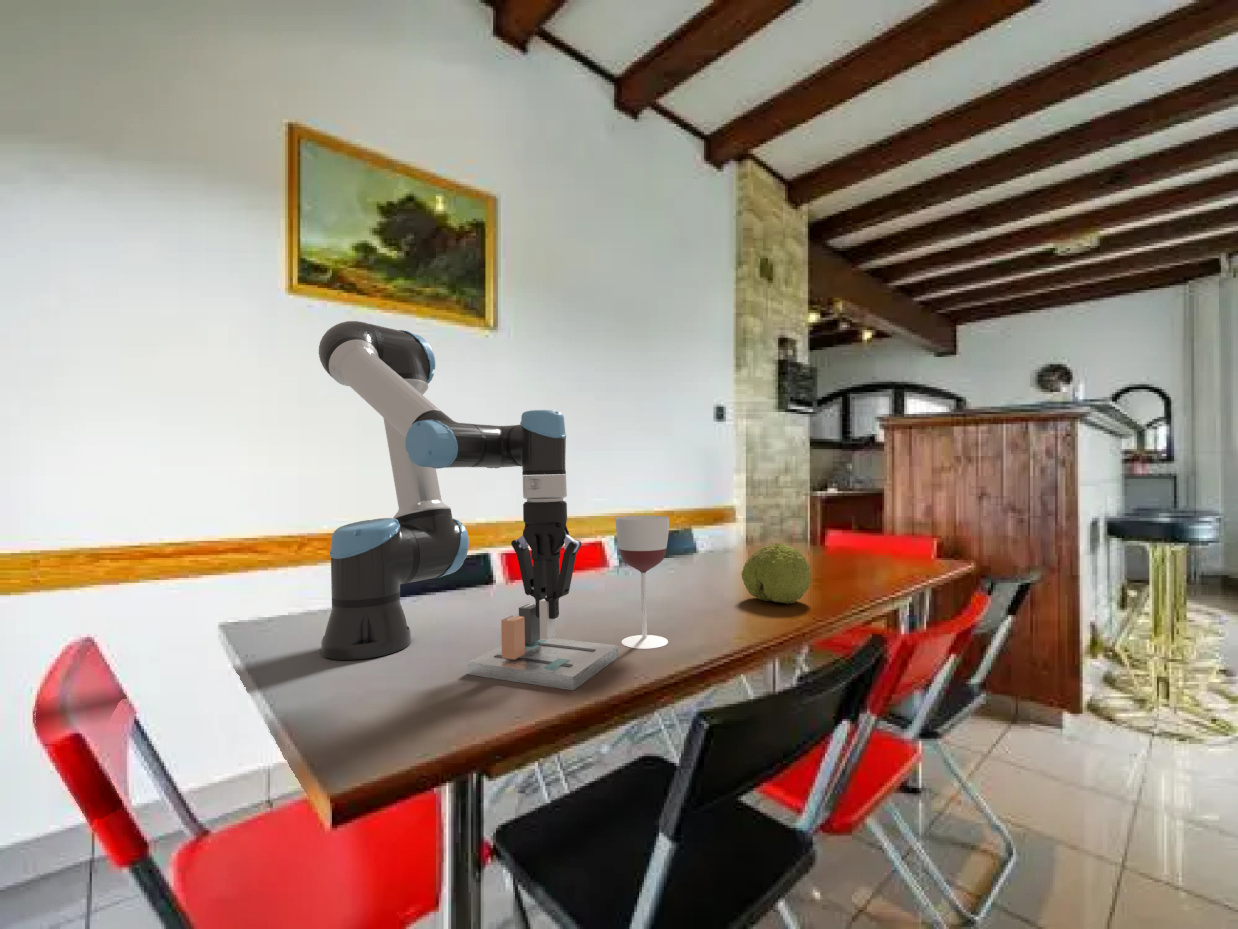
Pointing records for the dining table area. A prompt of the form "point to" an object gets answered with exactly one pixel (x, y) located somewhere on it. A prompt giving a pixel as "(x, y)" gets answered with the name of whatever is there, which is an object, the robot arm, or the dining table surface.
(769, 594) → the fruit
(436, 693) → the dining table surface
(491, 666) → the console
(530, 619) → the fader black
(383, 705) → the dining table surface
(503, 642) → the block
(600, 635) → the dining table surface
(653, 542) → the wineglass
